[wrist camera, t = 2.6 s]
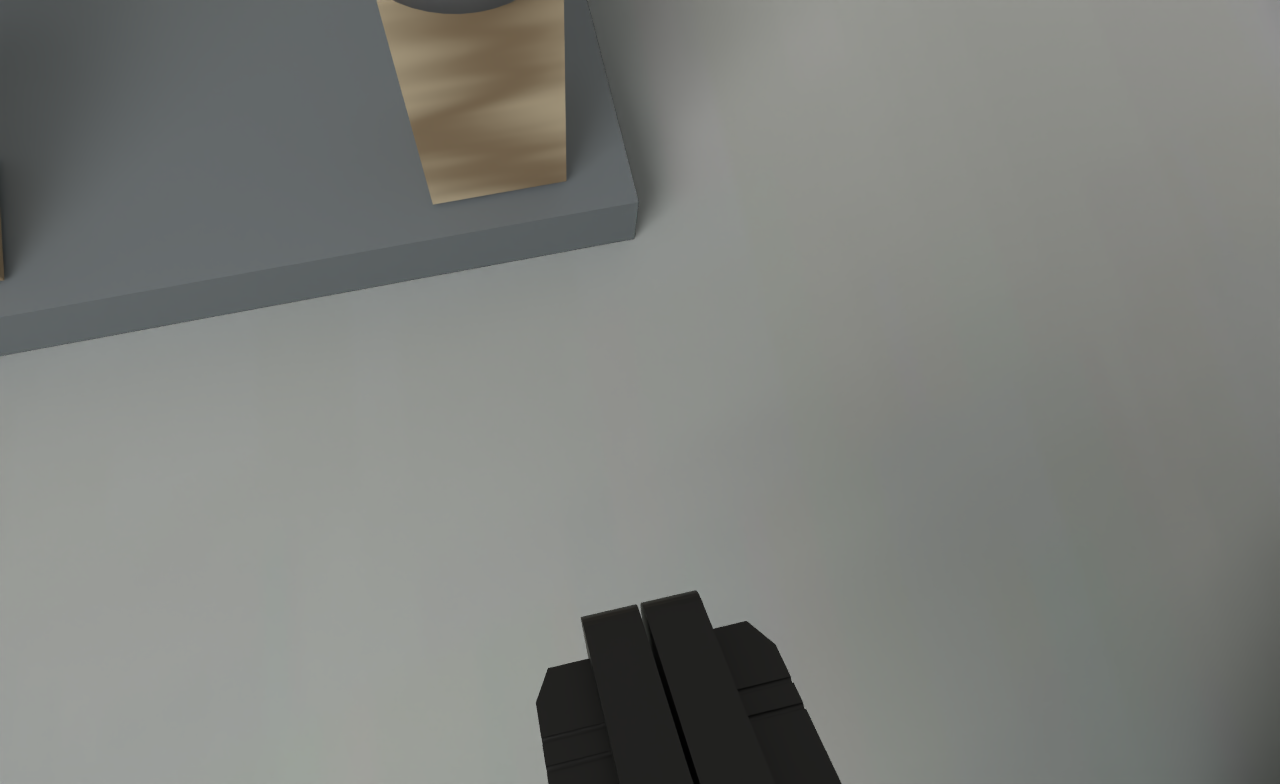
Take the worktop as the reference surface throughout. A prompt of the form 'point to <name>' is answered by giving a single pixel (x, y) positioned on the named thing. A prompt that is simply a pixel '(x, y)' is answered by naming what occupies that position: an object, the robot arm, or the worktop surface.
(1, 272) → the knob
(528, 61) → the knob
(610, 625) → the robot arm
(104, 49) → the slider board
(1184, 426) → the worktop surface
